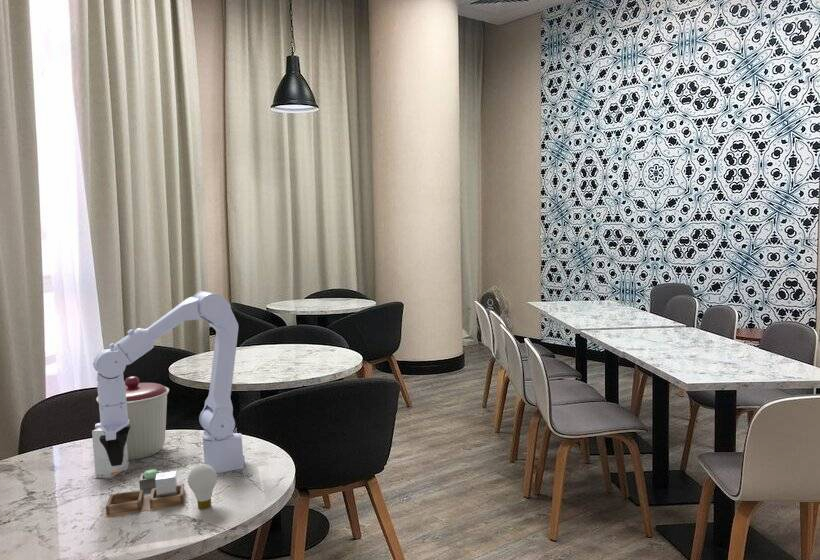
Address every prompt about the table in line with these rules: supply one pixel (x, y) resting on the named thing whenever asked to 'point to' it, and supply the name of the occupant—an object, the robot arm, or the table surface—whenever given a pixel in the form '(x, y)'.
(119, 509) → the wooden divided tray
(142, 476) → the button housing
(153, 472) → the button
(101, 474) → the skincare box
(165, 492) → the seated billet
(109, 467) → the billet
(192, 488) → the light bulb
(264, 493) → the table surface
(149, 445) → the canister
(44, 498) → the table surface
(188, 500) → the table surface
